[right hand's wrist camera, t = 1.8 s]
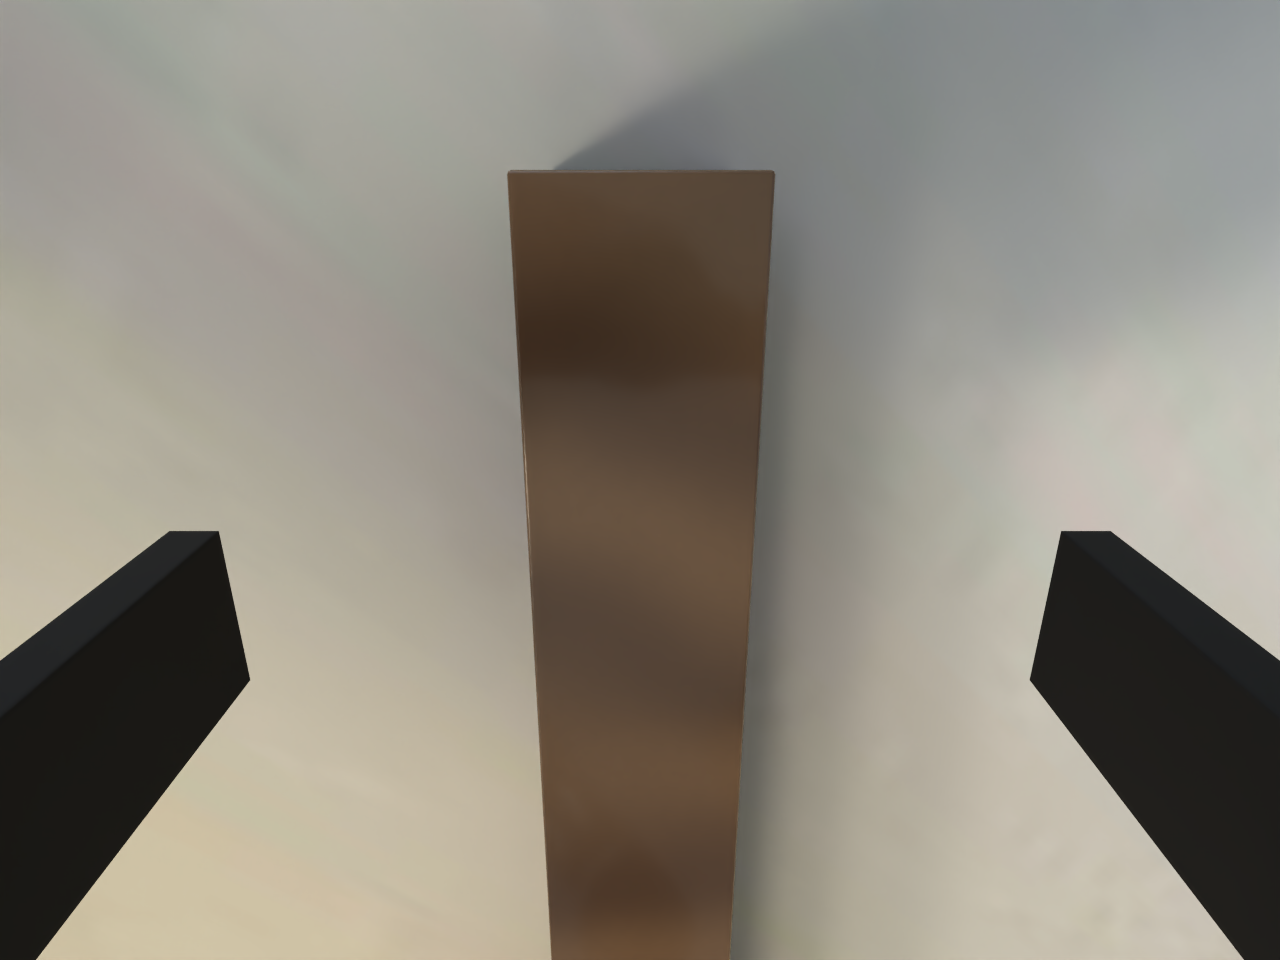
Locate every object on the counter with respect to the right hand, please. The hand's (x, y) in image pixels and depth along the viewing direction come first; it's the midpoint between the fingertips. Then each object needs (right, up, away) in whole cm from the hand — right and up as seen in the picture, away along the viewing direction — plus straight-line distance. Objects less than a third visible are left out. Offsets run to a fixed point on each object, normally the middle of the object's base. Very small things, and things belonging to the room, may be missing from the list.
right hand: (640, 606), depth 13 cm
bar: (0, -18, +20) cm, 27 cm away
